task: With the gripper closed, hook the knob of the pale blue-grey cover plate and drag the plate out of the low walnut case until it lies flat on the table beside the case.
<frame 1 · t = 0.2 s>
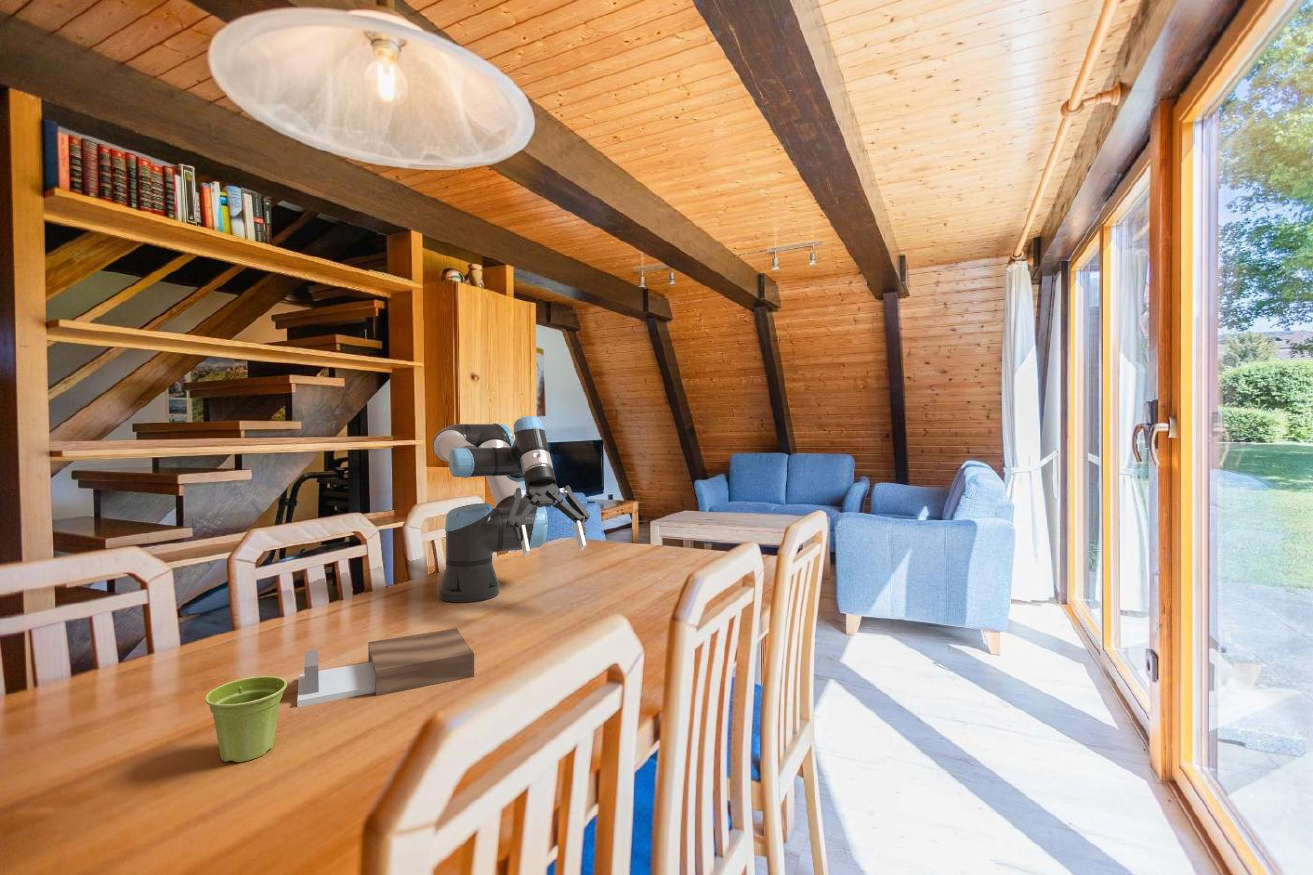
hand: (555, 550, 144), 16 cm above the table, tool tilted 35°, fingers open, 13 cm apart
walnut case: (420, 670, 114), on the table
plant pot: (248, 753, 86), on the table
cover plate: (376, 681, 110), on the table
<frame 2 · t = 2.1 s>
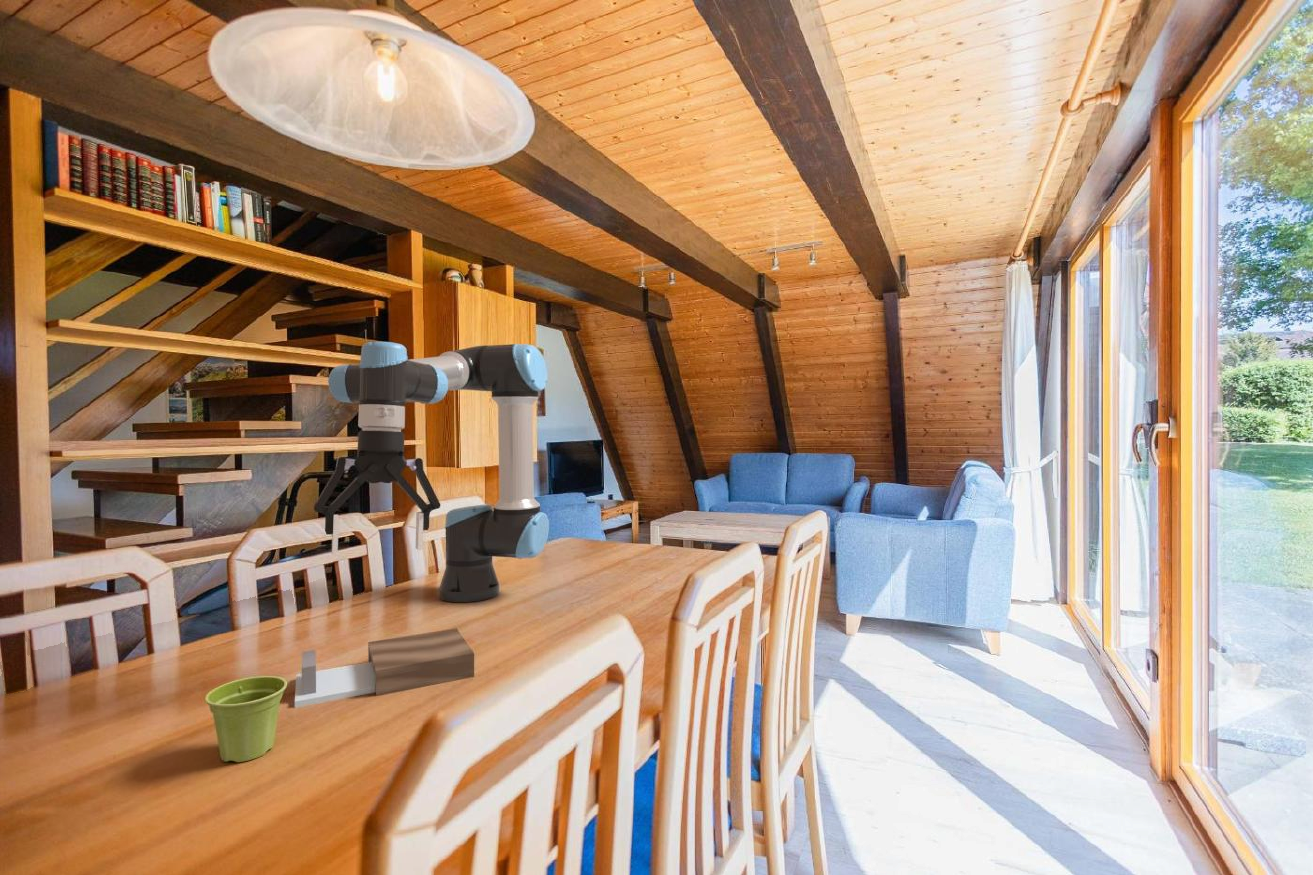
hand: (378, 551, 109), 23 cm above the table, tool pointing down, fingers open, 13 cm apart
nothing on the table moved.
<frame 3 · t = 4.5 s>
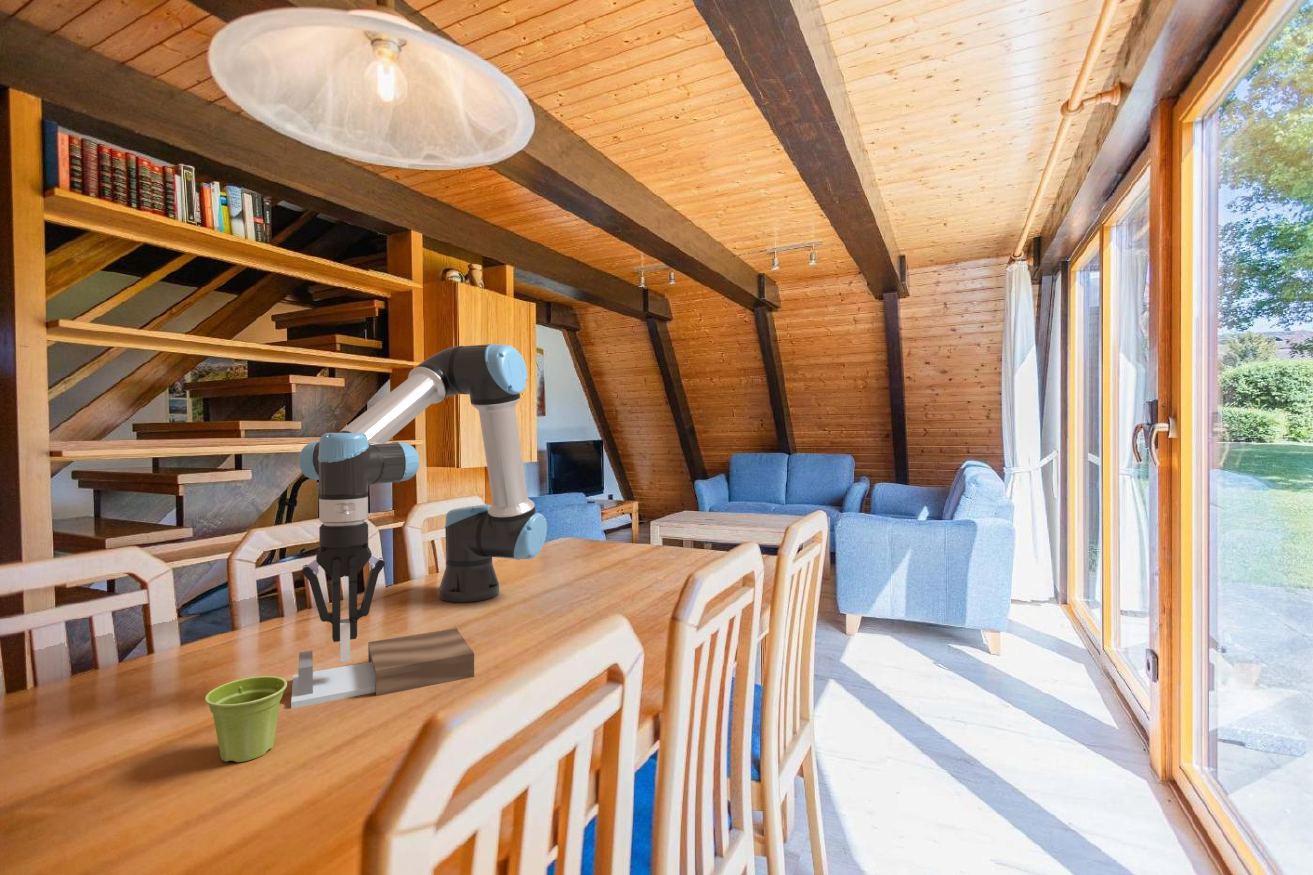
hand: (344, 658, 107), 4 cm above the table, tool pointing down, fingers closed
nothing on the table moved.
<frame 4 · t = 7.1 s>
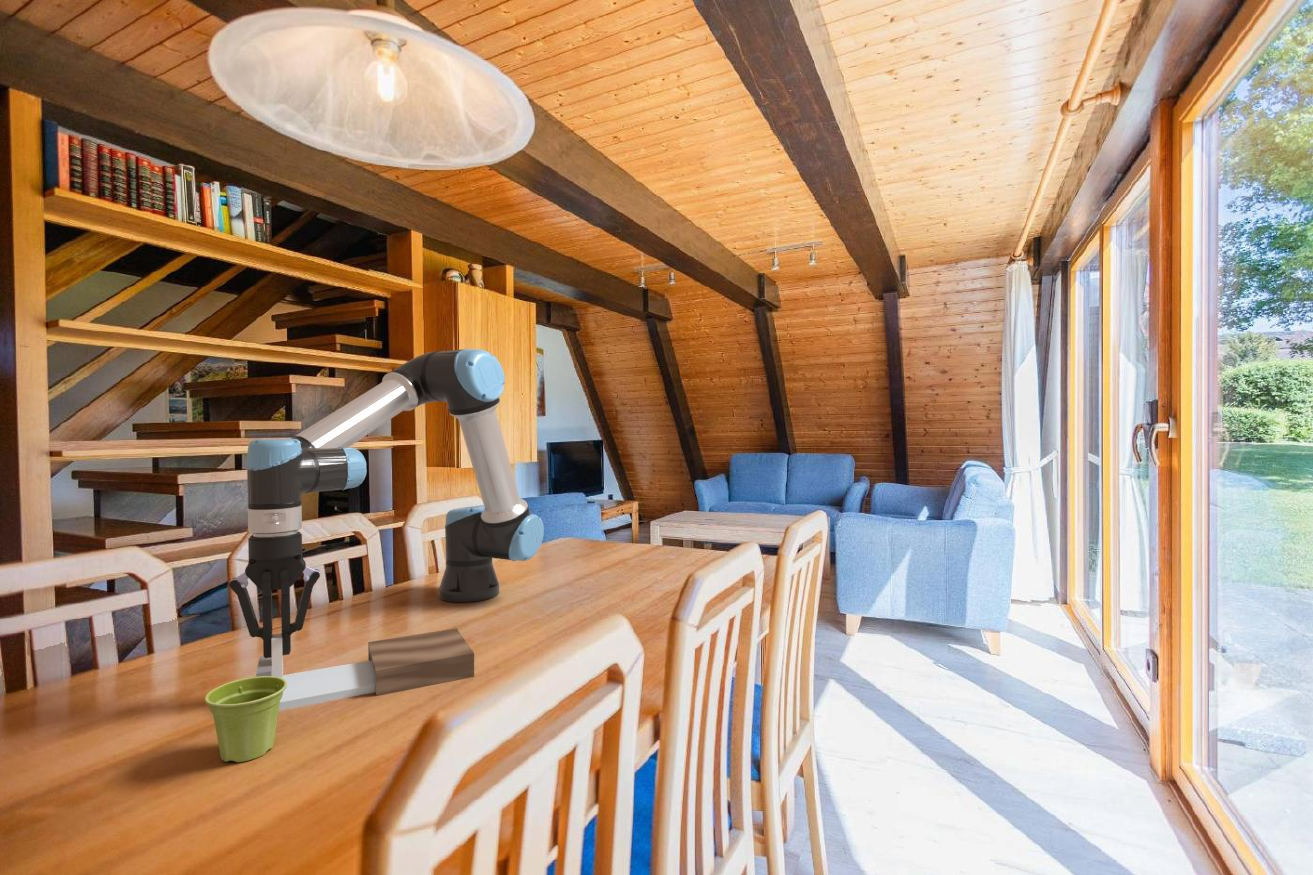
hand: (277, 675, 103), 4 cm above the table, tool pointing down, fingers closed
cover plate: (334, 687, 107), on the table, touching gripper
everything else where it was.
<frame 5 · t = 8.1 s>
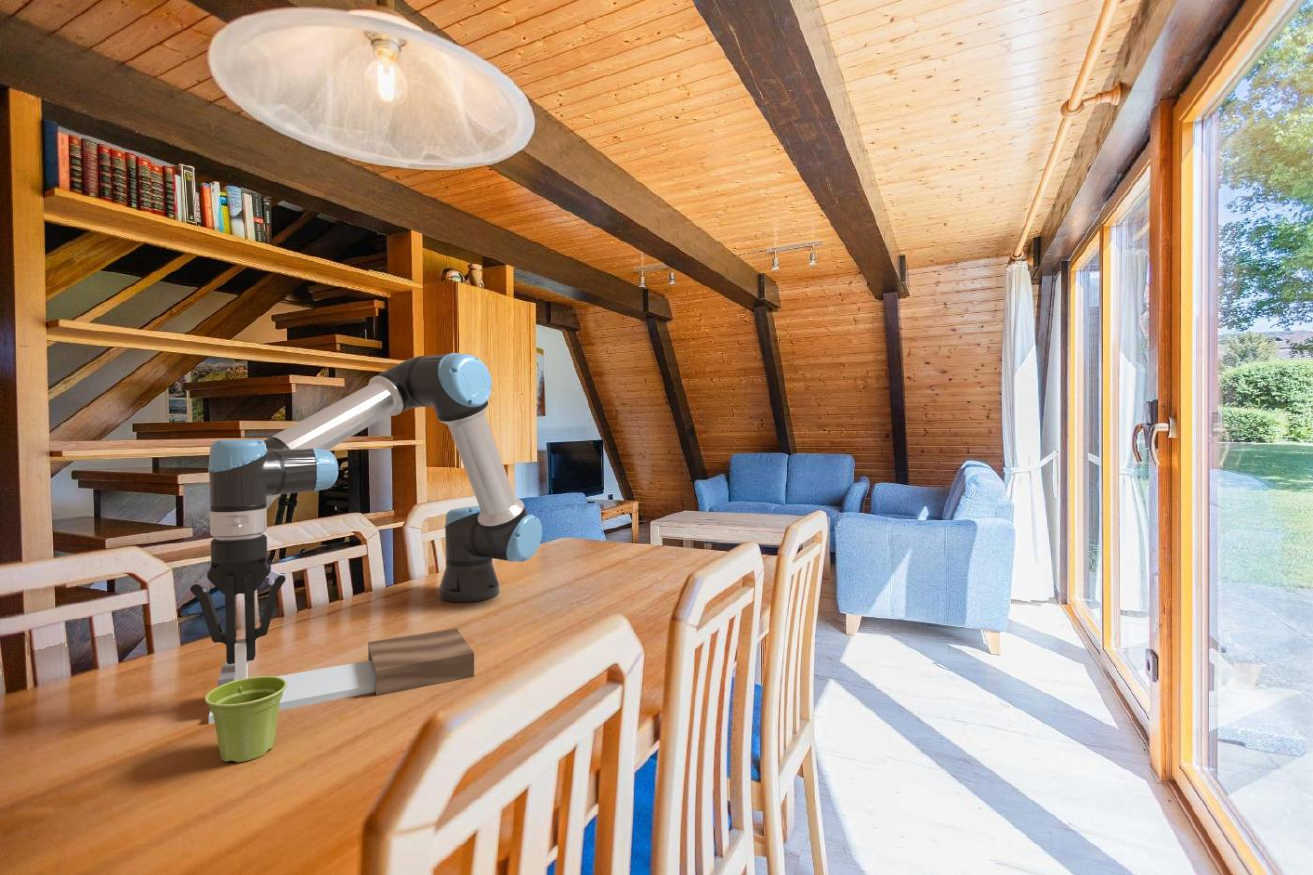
hand: (241, 681, 100), 4 cm above the table, tool pointing down, fingers closed
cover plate: (301, 693, 105), on the table
everything else where it was.
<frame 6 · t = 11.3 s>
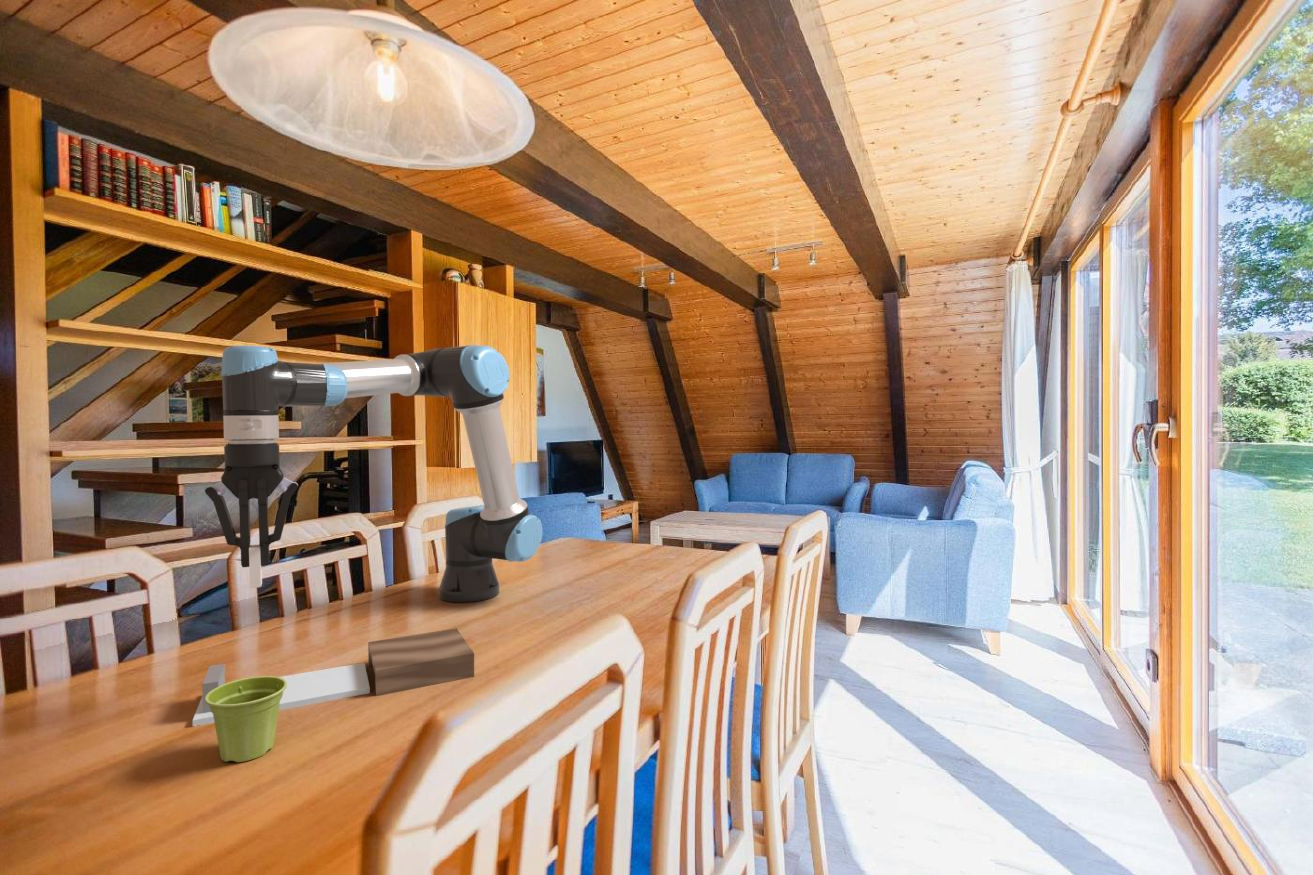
hand: (256, 585, 102), 18 cm above the table, tool pointing down, fingers closed
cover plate: (287, 697, 104), on the table
everything else where it was.
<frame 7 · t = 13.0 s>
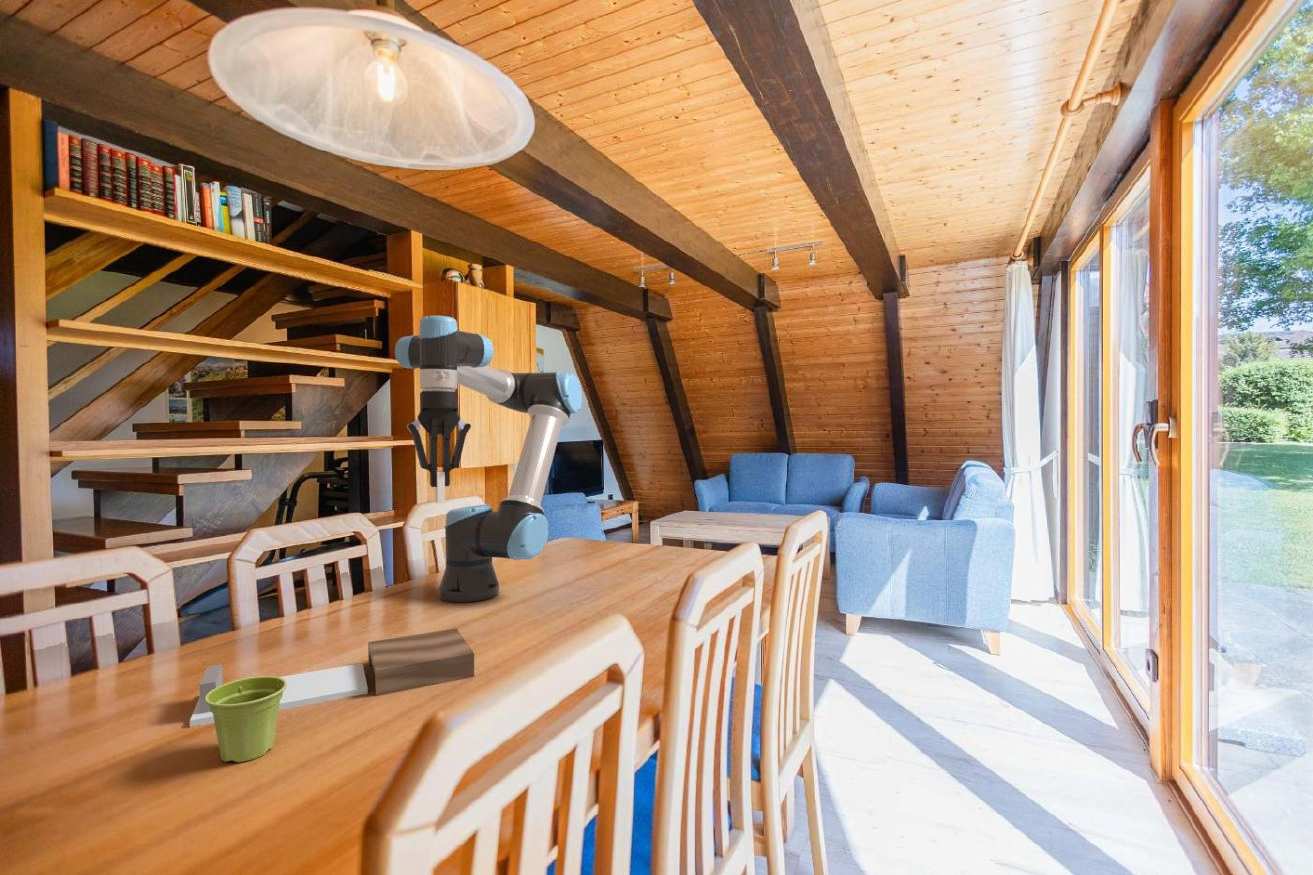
hand: (440, 502, 132), 28 cm above the table, tool pointing down, fingers closed
nothing on the table moved.
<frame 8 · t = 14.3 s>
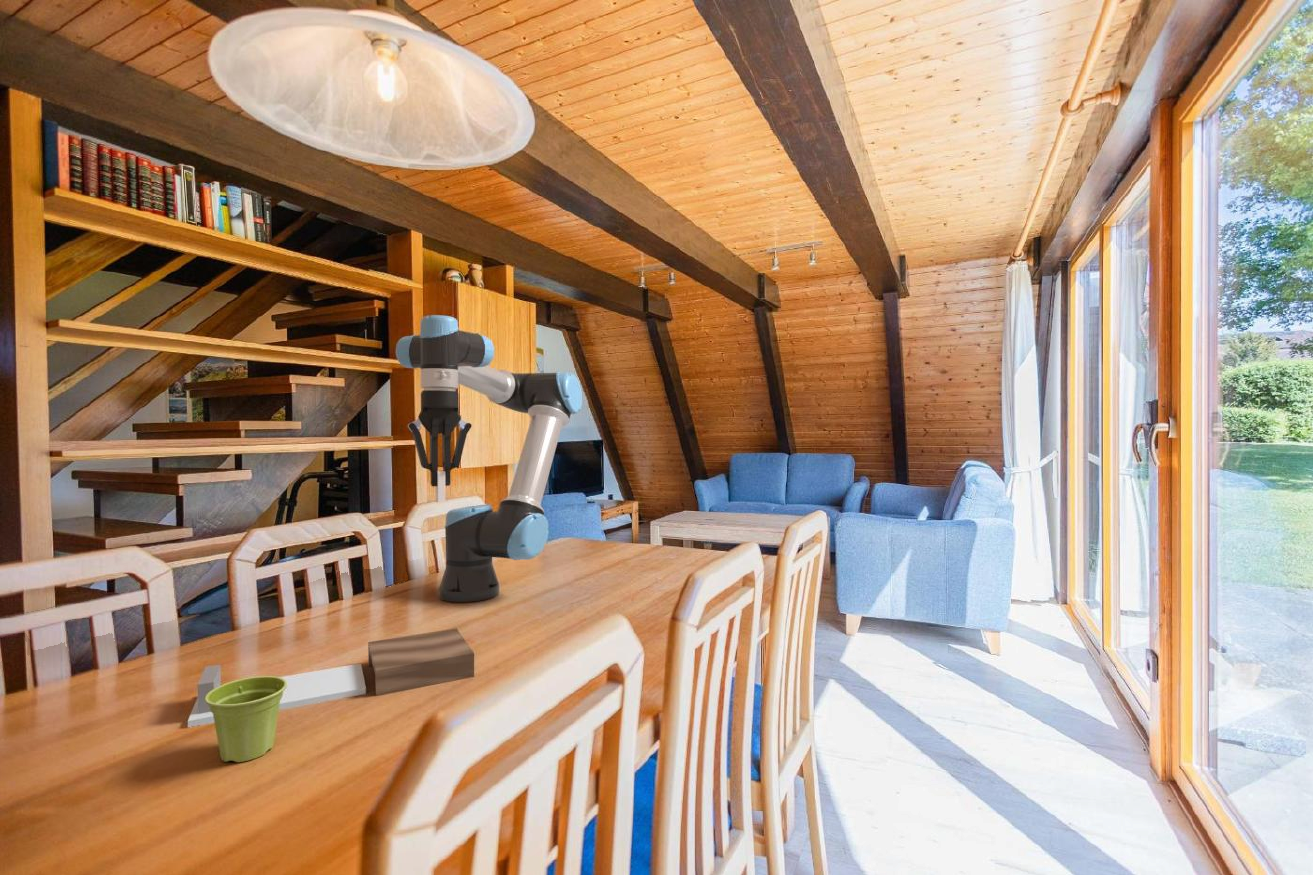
hand: (440, 501, 132), 28 cm above the table, tool pointing down, fingers closed
nothing on the table moved.
at the end: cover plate inside the target area (1.9 cm from its centre), on the table; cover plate touching table; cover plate tilted 0° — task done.
